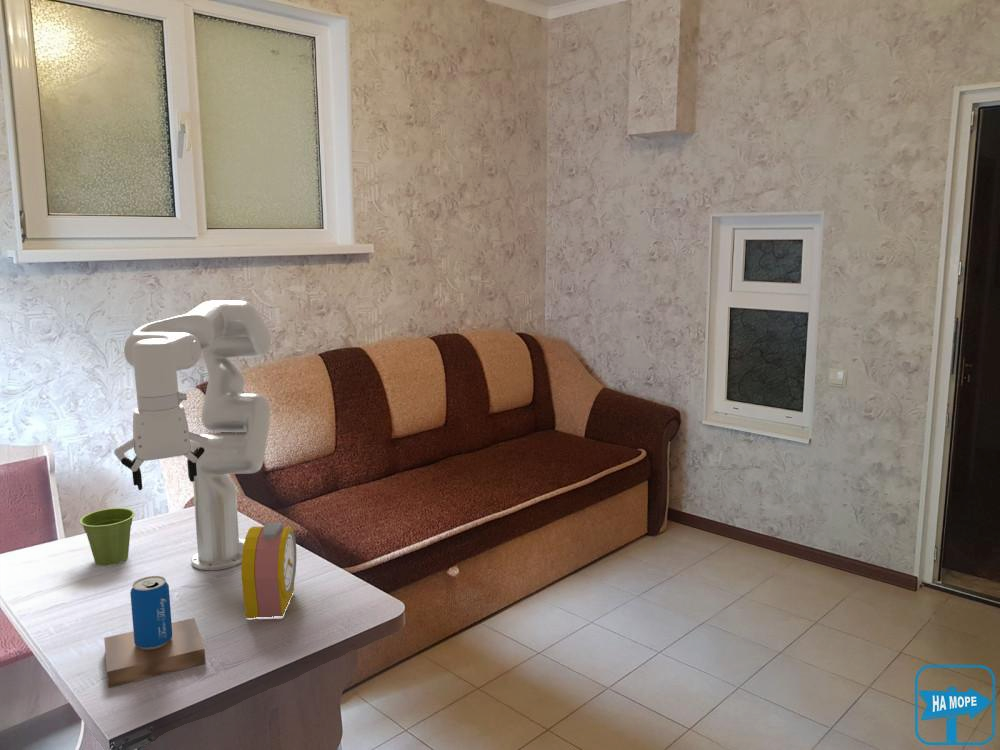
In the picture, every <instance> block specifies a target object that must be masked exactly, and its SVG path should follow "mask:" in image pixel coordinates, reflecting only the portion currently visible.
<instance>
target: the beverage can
mask: <svg viewBox="0 0 1000 750" xmlns="http://www.w3.org/2000/svg"><path fill="white" fill-rule="evenodd" d="M131 586H132V588H131V589H130V592H129V593H130V595H129V596H130V603H131V605H130V607H131V615H132V617H131V620H132V627H133V628H132V629H133V631H134V643H135V645H136V646H138V647H140V648H142V649H146V650H151V649H156V648H159V647H162V646H164V645H165V644H166V643H167V642H168V641H169V640H170V639H171V638H172V623H173V622H172V612H171V598H170V597H171V596H170V586H169V583H168V582H167V580H166V577H164V576H159V575H150V576H145V577H141V578H139V579H137V580H136V581H135V580H134V582H133V583H132V585H131ZM133 631H132V632H133Z"/></svg>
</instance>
